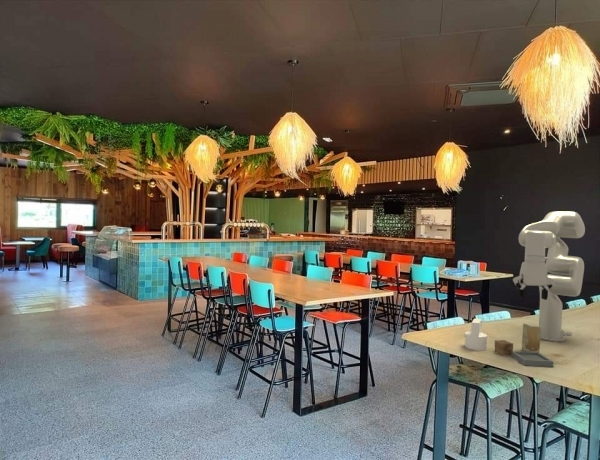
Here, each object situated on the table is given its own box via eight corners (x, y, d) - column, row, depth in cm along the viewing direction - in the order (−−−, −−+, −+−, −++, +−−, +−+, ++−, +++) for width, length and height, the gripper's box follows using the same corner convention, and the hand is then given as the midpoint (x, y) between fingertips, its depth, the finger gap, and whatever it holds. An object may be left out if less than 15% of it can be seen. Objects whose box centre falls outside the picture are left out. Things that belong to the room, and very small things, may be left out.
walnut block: (504, 351, 174) (504, 340, 174) (512, 355, 170) (513, 343, 169) (494, 351, 173) (494, 340, 173) (502, 355, 168) (503, 344, 168)
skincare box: (521, 349, 177) (522, 322, 177) (530, 349, 177) (531, 322, 177) (530, 354, 171) (531, 326, 170) (540, 354, 171) (541, 326, 171)
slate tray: (537, 357, 168) (537, 352, 167) (553, 366, 157) (553, 361, 156) (511, 356, 168) (511, 351, 168) (524, 365, 157) (525, 360, 157)
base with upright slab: (485, 352, 173) (486, 324, 172) (463, 347, 177) (464, 321, 177) (488, 346, 180) (489, 320, 180) (466, 343, 185) (467, 317, 185)
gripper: (549, 259, 176) (548, 298, 177) (510, 258, 177) (508, 296, 177) (560, 261, 169) (558, 301, 169) (518, 259, 170) (516, 299, 170)
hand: (532, 298), depth 173 cm, fingers open, 9 cm apart
